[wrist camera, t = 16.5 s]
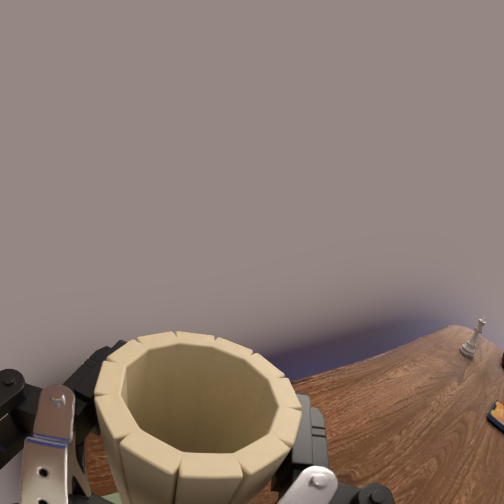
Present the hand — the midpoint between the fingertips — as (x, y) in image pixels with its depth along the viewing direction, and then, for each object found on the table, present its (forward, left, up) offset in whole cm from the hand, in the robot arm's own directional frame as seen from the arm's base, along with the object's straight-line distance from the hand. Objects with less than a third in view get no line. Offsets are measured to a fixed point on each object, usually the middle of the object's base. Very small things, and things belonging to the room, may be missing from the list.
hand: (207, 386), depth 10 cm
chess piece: (+67, -15, -17) cm, 71 cm away
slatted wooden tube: (-2, -2, -7) cm, 7 cm away
